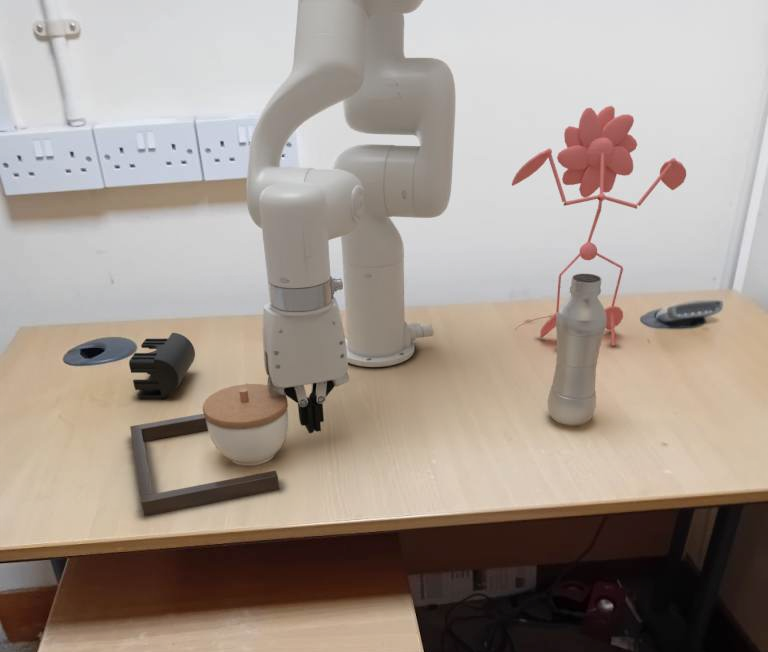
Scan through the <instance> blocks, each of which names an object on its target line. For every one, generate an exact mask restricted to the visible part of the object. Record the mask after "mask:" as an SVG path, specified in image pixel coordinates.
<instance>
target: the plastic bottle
mask: <svg viewBox="0 0 768 652" xmlns="http://www.w3.org/2000/svg"><path fill="white" fill-rule="evenodd" d="M601 287H602V277H601V276H599V275H597V274H593V273H577V274H574V275H573V276H572V277H571V283H570V287H569V293H570V296H569V297H568V298H567V299H566V300H565V301H564V302H563V303H562V304H561V306H559V311H558V313H557V316H556V326H555V328H556V359H555V360H556V362H555V368H554V373H553V379H552V384H551V387H550V389H549V393H548V398H547V411H548V414H549V415H550V417H551V418H552V419H553V420H554V421H555V422H557V423H559V424H561V425H566V426H580V425H584V424H586V423H588V422H589V421H590V420H591V419H592V418H593V416H594V413H595V411H596V408H597V393H596V392H597V391H596V381H597V380H596V379H597V378H596V377H597V366H598V359H599V355H600V349H601V345H602V341H603V338H604V335H605V331H606V323H607V317H606V312H605V310H604V309H605V308H604V305H603V304H602V302H601V301H600V299H599V297H598V296H600V295H601V293H602V289H601Z"/></svg>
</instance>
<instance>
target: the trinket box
mask: <svg viewBox="0 0 768 652" xmlns="http://www.w3.org/2000/svg"><path fill="white" fill-rule="evenodd" d="M288 406H289V402H288V396H287V395H283V396H279V395H270V394H269V392H268V390H267V384H262V383H244V384H236V385H231V386H228V387H225V388H222V389H220V390H217V391H215V392H213V393H212V394H211V395H209V396H208V397H207V398H206V399H205V401H204V402H203V405H202V414H204V417H205V419H206V424H207V428H208V430H207V431H208V435H209V437H210V440H211V442H212V444H213V445H214V446H215V448H216V449H217V451H218V452H219V453H220V454H221V455H222V456H224V457H225V458H227V459H229V460H230V462H232V463H233V464H235V465H238V466H242V467H255V466H259V465H263V464H266V463H267V462H269V461H271V460H272V459H273V458H274V457H275V456H276V453H278V451H279V450H280V449H281V448H282V447H283V445H284V442H285V440H286V437H287V435H288V429H289V412H288Z"/></svg>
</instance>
